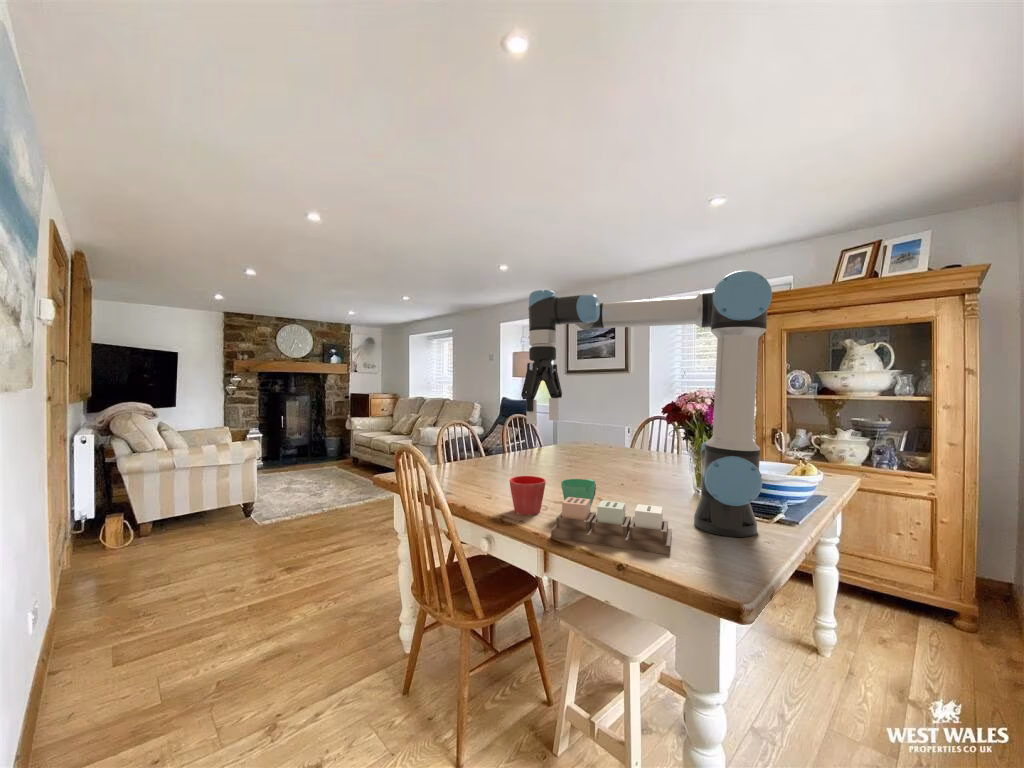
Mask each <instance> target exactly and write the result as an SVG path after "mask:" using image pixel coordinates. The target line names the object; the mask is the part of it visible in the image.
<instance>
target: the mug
mask: <svg viewBox="0 0 1024 768" xmlns="http://www.w3.org/2000/svg"><path fill="white" fill-rule="evenodd" d="M560 484H561V485H560V486H561V491H562V495H563V499H564V500H566V499H567V498H568V497H574V498H584V499H590V509H591V507H592V505H593V502H594V499H595V496H596V488H597V485H596V481H595V480H594V479H592V478H588V479H583V478H569V479H564V480H562V481H561V483H560ZM564 500H563V501H564Z"/></svg>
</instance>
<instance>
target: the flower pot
mask: <svg viewBox="0 0 1024 768" xmlns="http://www.w3.org/2000/svg"><path fill="white" fill-rule="evenodd" d="M546 484H547V481H546V479H545V478H543V477H541V476H532V475H520V476H514V477H511V478H509V486H510V492H511V498H512V503H513V508H514V512H515V513H516V514H517V513H518V515H521V516H534V515H537V514H539V513H540V512H541V509H542V504H543V500H544V495H545V494H544V493H545V489H546Z"/></svg>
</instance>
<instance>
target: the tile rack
mask: <svg viewBox="0 0 1024 768" xmlns="http://www.w3.org/2000/svg"><path fill="white" fill-rule="evenodd" d="M555 520H556V524H555V525H554V526H553V527H552V528H551V530H550V531H551V532H550V535H551V537H550V538H553V539H560V540H566V541H572V542H580V543H588V544H595V545H599V546H605V547H607V546H608V547H615V548H621V549H627V550H628V549H629V550H635V551H641V552H649V553H656V554H661V555H662V554H663V555H668V556H669V555H671V548H672V537H673V536H672V534H673V533H672V532H673V531H672V528H669V520H664V519H663V524H662V530H657V529H649V528H641V527H635V516H633V517H631V516H628V515H625V521H624V523H623V525H617V524H609V523H601V522H597V513H596V512H595V511H590V516H589V517H588V518H587V520H586V521H585V520H578V519H570V518H562V512H561V513H559V514H558V515H557V516H556V518H555Z"/></svg>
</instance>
